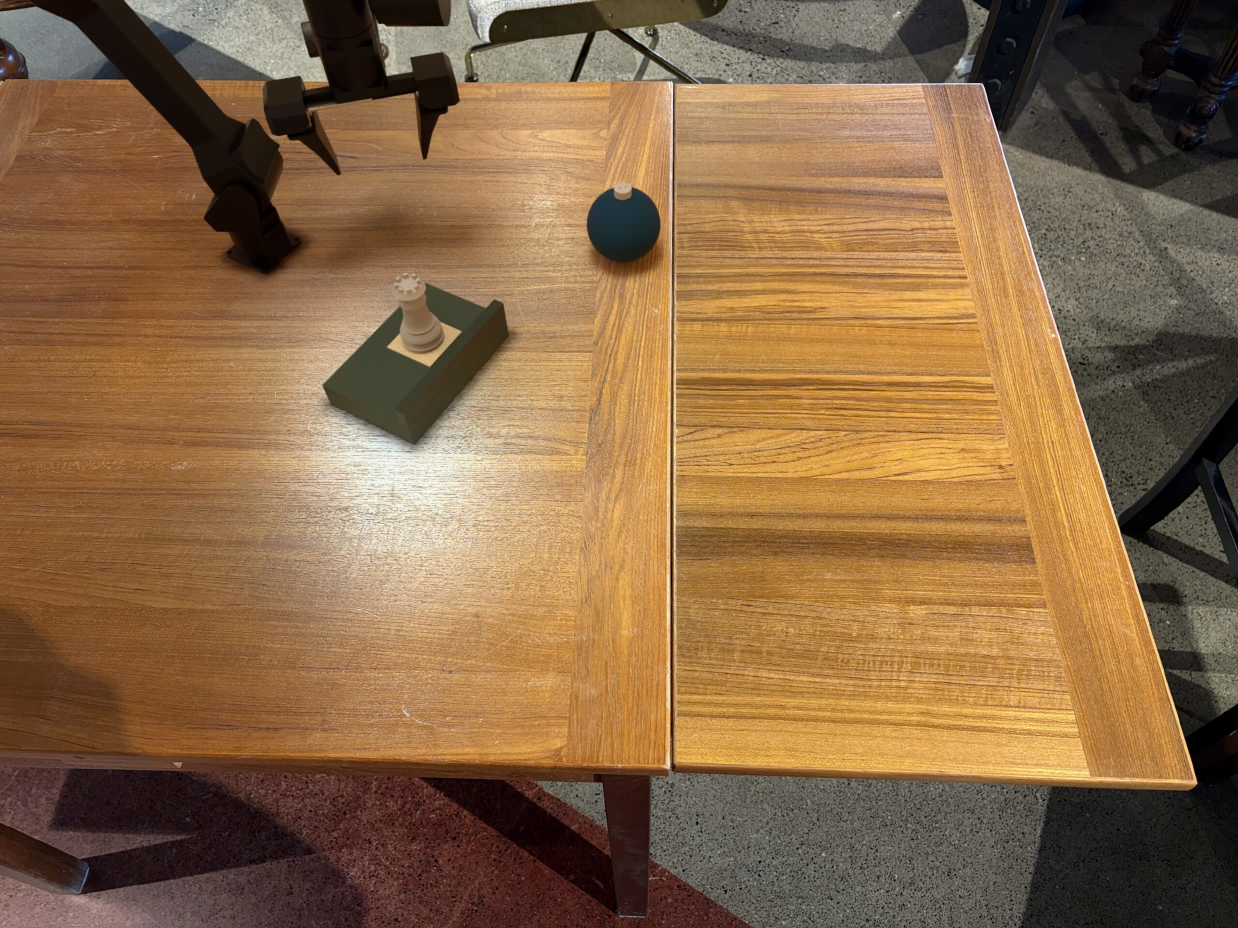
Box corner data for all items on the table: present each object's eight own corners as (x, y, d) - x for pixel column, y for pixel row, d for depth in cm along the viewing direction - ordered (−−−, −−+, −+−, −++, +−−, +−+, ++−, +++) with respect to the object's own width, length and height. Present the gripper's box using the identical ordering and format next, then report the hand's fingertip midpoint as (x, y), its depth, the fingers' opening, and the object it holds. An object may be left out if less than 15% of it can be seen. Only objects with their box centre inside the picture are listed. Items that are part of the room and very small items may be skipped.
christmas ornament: (642, 221, 108) (642, 150, 100) (671, 265, 104) (674, 194, 95) (577, 241, 106) (572, 170, 98) (605, 286, 102) (601, 216, 94)
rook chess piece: (403, 324, 95) (385, 267, 88) (445, 321, 95) (430, 264, 88) (400, 356, 92) (382, 299, 86) (444, 352, 92) (429, 296, 86)
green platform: (330, 403, 93) (315, 372, 89) (428, 301, 101) (419, 268, 97) (414, 445, 89) (403, 414, 85) (509, 335, 98) (503, 302, 94)
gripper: (428, -33, 89) (455, 108, 102) (238, -4, 87) (290, 137, 100) (445, 24, 83) (472, 166, 96) (240, 57, 81) (296, 199, 93)
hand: (382, 165), depth 96 cm, fingers open, 9 cm apart
